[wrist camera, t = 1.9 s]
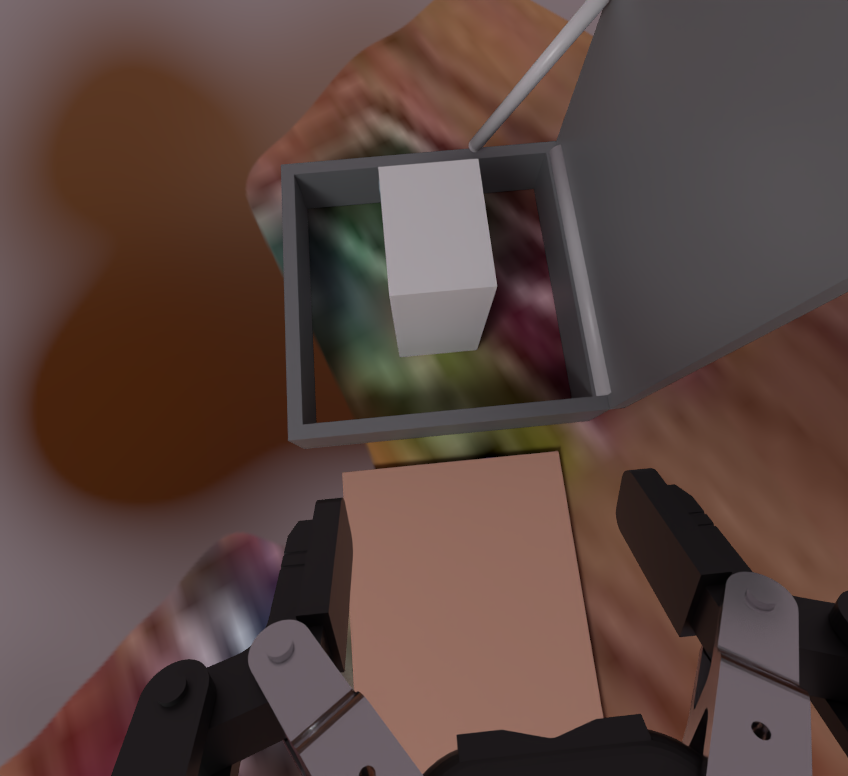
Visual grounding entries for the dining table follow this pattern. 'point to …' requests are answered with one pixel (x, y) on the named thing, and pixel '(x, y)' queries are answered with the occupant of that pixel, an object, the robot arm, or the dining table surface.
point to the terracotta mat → (468, 602)
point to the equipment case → (640, 202)
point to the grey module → (437, 255)
